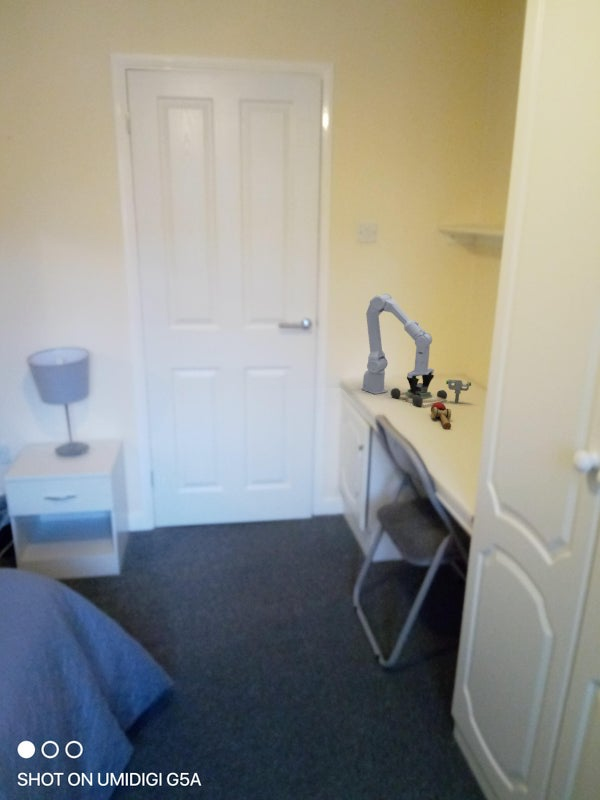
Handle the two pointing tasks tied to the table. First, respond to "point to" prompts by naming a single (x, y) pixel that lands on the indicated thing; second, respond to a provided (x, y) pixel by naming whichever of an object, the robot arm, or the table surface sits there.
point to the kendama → (441, 414)
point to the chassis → (420, 397)
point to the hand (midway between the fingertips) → (419, 391)
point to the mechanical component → (457, 387)
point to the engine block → (420, 389)
